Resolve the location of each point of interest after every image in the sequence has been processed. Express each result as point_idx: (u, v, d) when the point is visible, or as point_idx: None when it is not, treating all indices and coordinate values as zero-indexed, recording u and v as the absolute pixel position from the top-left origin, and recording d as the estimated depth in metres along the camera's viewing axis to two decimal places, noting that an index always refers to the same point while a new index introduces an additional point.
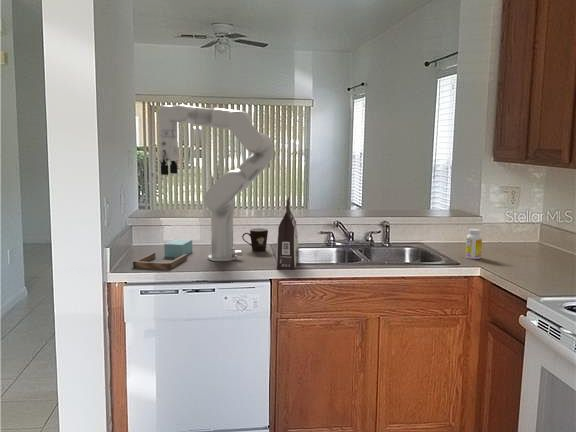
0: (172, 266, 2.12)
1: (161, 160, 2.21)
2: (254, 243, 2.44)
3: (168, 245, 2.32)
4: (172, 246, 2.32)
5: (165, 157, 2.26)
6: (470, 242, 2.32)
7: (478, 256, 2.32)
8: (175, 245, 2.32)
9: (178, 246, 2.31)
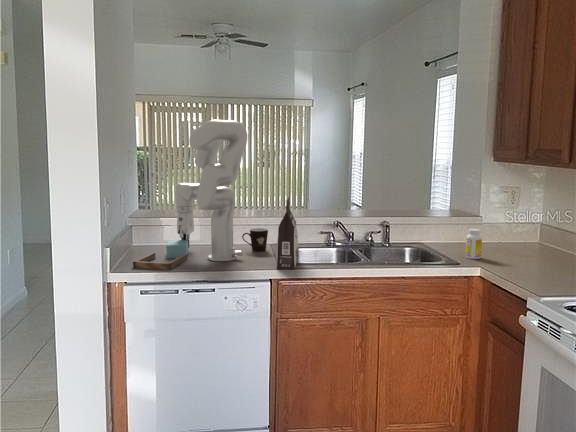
0: (172, 266, 2.12)
1: (182, 237, 2.42)
2: (254, 243, 2.44)
3: (170, 246, 2.31)
4: (175, 247, 2.31)
5: None
6: (470, 242, 2.32)
7: (478, 256, 2.32)
8: (178, 246, 2.31)
9: (181, 246, 2.31)
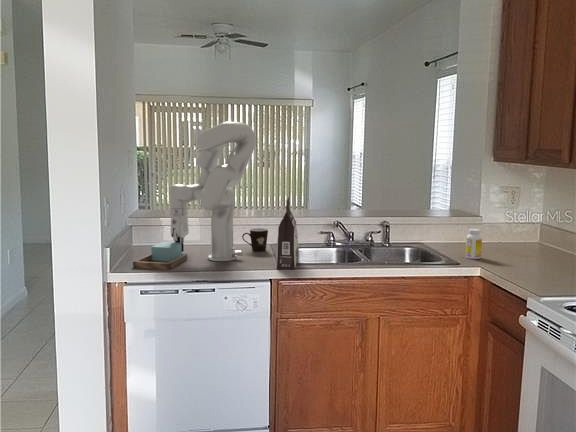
0: (172, 266, 2.12)
1: (176, 240, 2.35)
2: (254, 243, 2.44)
3: (155, 248, 2.25)
4: (159, 249, 2.25)
5: None
6: (470, 242, 2.32)
7: (478, 256, 2.32)
8: (162, 248, 2.24)
9: (165, 249, 2.24)
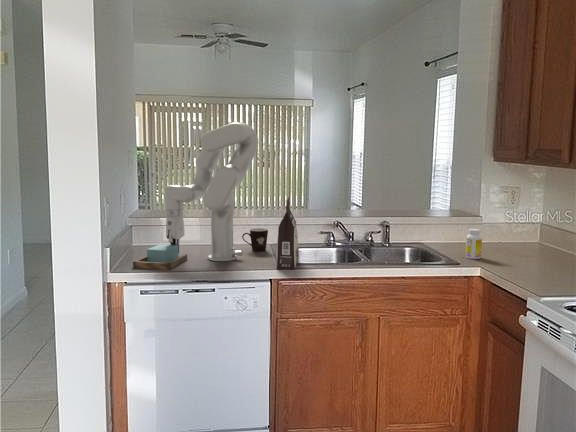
0: (172, 266, 2.12)
1: None
2: (254, 243, 2.44)
3: (150, 250, 2.21)
4: (154, 252, 2.20)
5: None
6: (470, 242, 2.32)
7: (478, 256, 2.32)
8: (157, 251, 2.20)
9: (160, 252, 2.19)
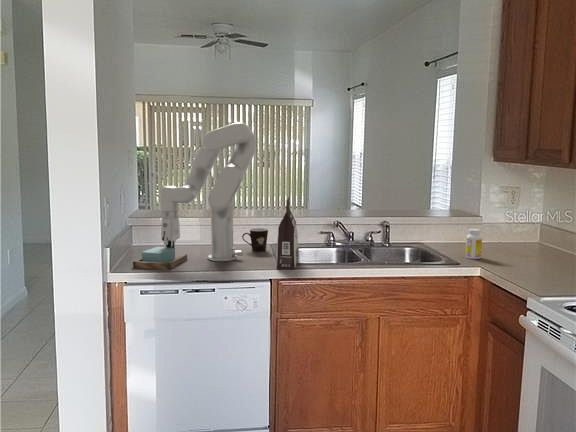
0: (172, 266, 2.12)
1: (167, 244, 2.26)
2: (254, 243, 2.44)
3: (145, 253, 2.16)
4: (149, 254, 2.15)
5: None
6: (470, 242, 2.32)
7: (478, 256, 2.32)
8: (152, 254, 2.15)
9: (155, 255, 2.15)
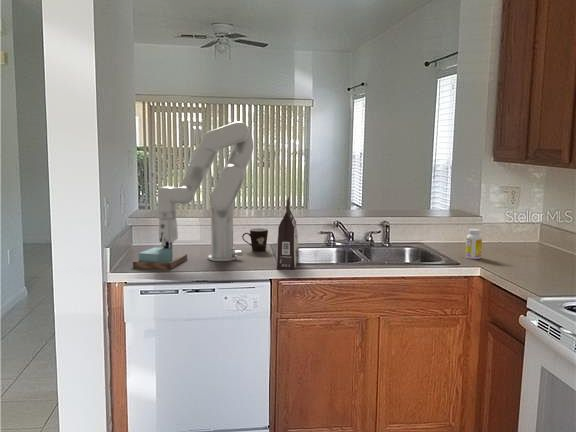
0: (172, 266, 2.12)
1: (164, 245, 2.23)
2: (254, 243, 2.44)
3: (143, 254, 2.13)
4: (147, 255, 2.13)
5: None
6: (470, 242, 2.32)
7: (478, 256, 2.32)
8: (150, 254, 2.12)
9: (153, 256, 2.12)
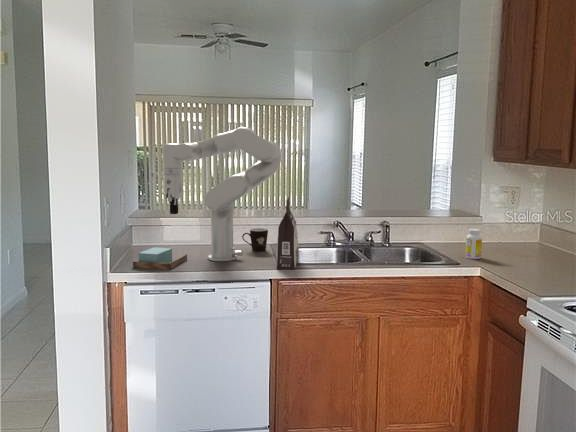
0: (172, 266, 2.12)
1: (170, 201, 2.27)
2: (254, 243, 2.44)
3: (142, 254, 2.13)
4: (147, 255, 2.13)
5: None
6: (470, 242, 2.32)
7: (478, 256, 2.32)
8: (150, 254, 2.12)
9: (153, 256, 2.12)
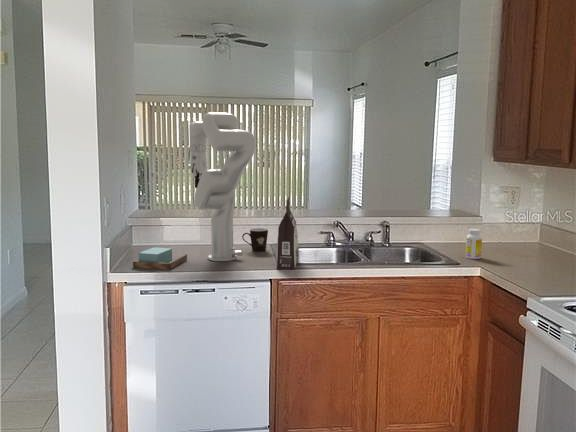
0: (172, 266, 2.12)
1: (195, 176, 2.45)
2: (254, 243, 2.44)
3: (143, 254, 2.13)
4: (147, 255, 2.13)
5: None
6: (470, 242, 2.32)
7: (478, 256, 2.32)
8: (150, 254, 2.12)
9: (153, 256, 2.12)
